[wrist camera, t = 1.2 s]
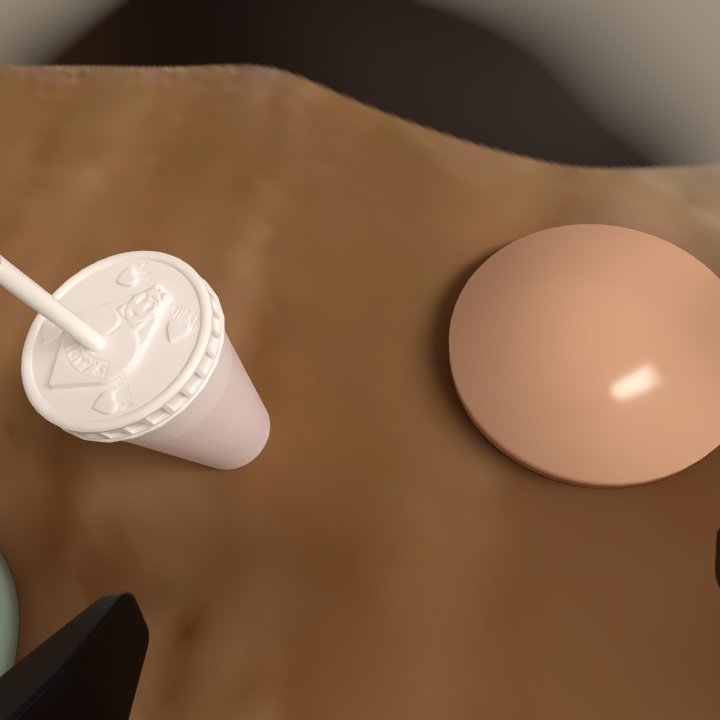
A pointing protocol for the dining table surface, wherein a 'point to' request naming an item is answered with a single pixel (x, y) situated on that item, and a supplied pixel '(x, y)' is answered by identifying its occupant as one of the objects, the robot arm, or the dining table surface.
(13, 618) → the green dish
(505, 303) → the terracotta dish
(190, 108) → the dining table surface
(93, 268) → the smoothie
